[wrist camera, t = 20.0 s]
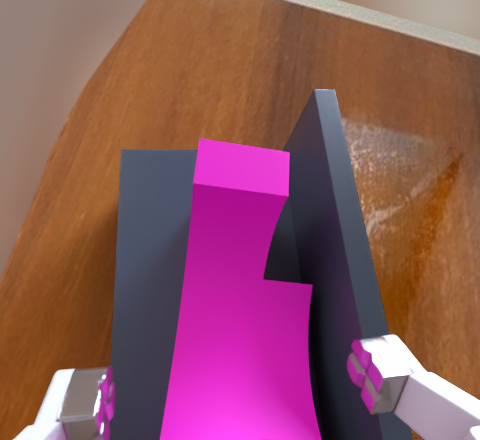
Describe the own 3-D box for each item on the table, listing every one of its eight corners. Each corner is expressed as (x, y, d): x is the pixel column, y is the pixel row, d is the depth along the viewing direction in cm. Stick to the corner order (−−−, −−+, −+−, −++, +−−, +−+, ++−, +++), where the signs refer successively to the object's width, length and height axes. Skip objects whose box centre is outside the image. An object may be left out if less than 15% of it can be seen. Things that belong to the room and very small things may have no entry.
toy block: (286, 511, 15) (369, 665, 8) (154, 508, 14) (120, 674, 7) (292, 220, 20) (346, 161, 13) (196, 207, 20) (199, 138, 13)
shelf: (124, 569, 18) (16, 959, 7) (135, 188, 26) (94, 78, 15) (321, 529, 20) (489, 779, 9) (276, 187, 28) (335, 89, 17)
